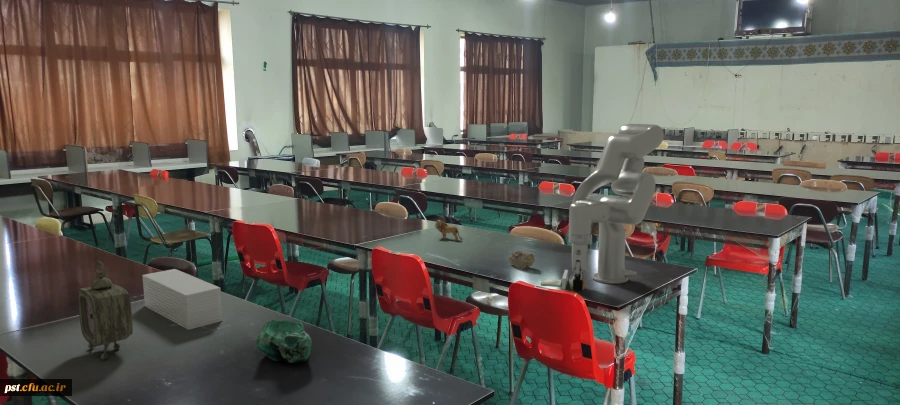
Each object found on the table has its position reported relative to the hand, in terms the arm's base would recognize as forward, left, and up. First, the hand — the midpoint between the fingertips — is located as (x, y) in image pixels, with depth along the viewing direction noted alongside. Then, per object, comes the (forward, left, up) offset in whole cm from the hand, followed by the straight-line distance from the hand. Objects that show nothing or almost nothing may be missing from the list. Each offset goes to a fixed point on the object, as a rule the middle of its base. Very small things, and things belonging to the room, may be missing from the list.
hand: (578, 287), depth 228 cm
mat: (+10, -6, -1) cm, 12 cm away
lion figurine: (+66, -69, -1) cm, 96 cm away
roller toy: (0, 0, -1) cm, 1 cm away
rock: (+24, -25, -1) cm, 35 cm away
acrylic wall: (+5, -5, -1) cm, 7 cm away
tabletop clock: (+119, +88, -1) cm, 148 cm away
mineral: (+70, +81, -1) cm, 107 cm away
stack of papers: (+120, +56, -1) cm, 133 cm away
